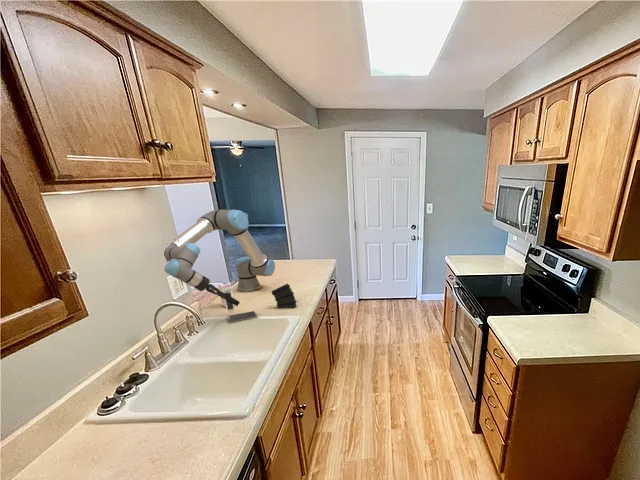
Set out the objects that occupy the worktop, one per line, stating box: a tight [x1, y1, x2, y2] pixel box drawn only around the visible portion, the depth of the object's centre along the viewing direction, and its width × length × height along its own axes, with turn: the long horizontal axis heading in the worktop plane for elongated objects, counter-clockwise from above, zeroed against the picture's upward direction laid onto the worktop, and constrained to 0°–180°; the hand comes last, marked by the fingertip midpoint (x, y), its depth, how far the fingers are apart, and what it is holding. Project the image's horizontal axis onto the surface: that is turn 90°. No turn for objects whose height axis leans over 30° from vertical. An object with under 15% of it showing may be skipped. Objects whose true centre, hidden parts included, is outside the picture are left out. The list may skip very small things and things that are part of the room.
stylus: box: [225, 291, 235, 312], centre depth 182 cm, size 3×3×11 cm
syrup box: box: [217, 281, 236, 309], centre depth 204 cm, size 6×6×14 cm
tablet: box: [227, 310, 257, 324], centre depth 188 cm, size 9×14×1 cm, turn 121°
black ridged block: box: [271, 283, 297, 309], centre depth 202 cm, size 4×13×15 cm, turn 90°
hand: (237, 303), depth 186 cm, fingers closed on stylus, 3 cm apart
